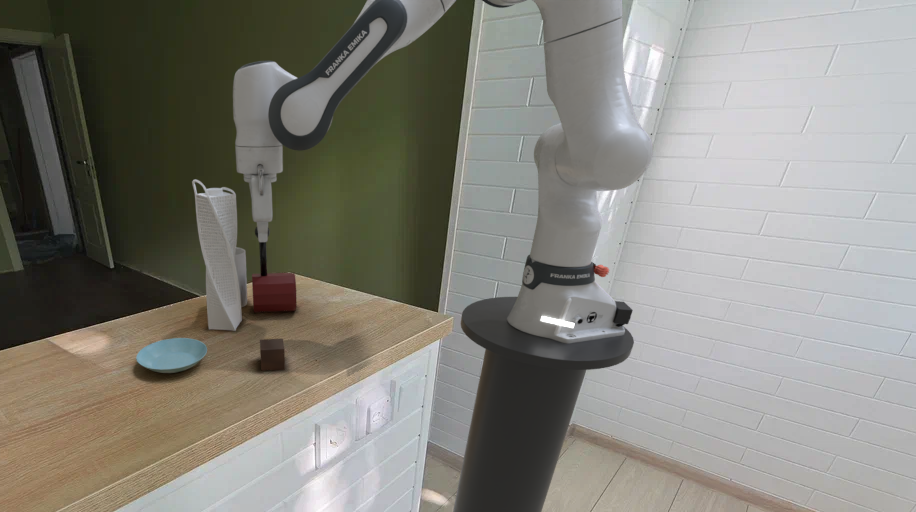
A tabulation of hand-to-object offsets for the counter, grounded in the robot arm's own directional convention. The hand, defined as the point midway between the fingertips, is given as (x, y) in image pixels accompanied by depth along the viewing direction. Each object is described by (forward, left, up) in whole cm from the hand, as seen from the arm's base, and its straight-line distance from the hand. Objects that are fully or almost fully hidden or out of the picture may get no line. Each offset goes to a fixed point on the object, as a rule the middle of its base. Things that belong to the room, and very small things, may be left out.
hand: (262, 235), depth 97 cm
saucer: (+16, +23, -16) cm, 33 cm away
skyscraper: (+8, +7, -16) cm, 20 cm away
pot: (-6, 0, -7) cm, 10 cm away
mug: (+7, -3, -16) cm, 18 cm away
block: (-1, +25, -16) cm, 30 cm away
